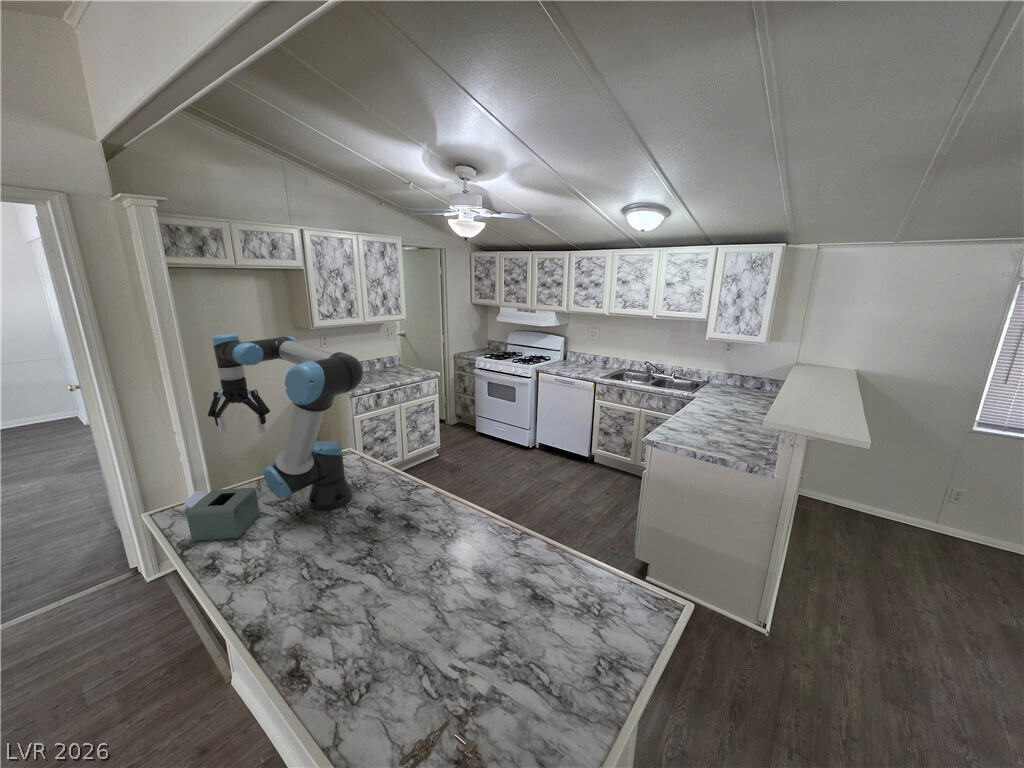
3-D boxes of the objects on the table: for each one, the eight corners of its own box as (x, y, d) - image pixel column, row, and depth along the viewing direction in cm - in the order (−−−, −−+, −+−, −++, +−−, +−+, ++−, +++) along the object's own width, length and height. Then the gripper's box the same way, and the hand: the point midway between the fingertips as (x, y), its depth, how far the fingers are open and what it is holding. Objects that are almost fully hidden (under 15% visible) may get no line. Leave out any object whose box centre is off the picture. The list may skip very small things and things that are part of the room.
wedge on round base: (185, 512, 145) (206, 522, 140) (181, 496, 144) (202, 504, 138) (212, 500, 153) (233, 509, 148) (209, 485, 151) (229, 492, 146)
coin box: (260, 515, 144) (255, 487, 141) (238, 539, 130) (232, 509, 127) (218, 517, 142) (212, 489, 139) (192, 542, 129) (185, 512, 126)
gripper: (274, 374, 148) (282, 428, 153) (202, 376, 146) (213, 430, 151) (264, 379, 141) (273, 435, 146) (188, 381, 138) (200, 438, 144)
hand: (243, 433), depth 149 cm, fingers open, 13 cm apart
